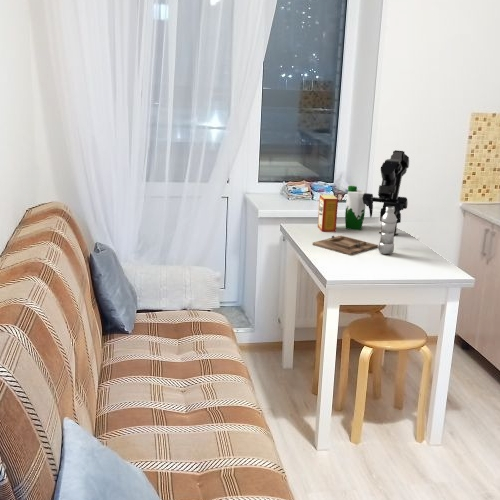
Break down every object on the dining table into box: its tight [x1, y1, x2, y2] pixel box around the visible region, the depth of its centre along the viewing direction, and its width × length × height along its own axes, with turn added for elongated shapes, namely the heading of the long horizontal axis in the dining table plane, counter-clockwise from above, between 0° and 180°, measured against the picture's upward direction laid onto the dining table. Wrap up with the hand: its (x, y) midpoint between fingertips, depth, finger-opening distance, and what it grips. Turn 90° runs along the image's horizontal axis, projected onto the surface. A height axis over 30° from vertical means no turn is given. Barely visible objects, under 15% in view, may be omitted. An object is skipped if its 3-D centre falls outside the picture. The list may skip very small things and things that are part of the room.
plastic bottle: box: [377, 206, 397, 255], centre depth 273 cm, size 6×7×20 cm
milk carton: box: [344, 185, 366, 231], centre depth 315 cm, size 9×9×20 cm
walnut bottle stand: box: [312, 235, 379, 256], centre depth 285 cm, size 20×20×3 cm
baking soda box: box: [317, 194, 339, 233], centre depth 311 cm, size 10×6×16 cm
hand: (381, 218), depth 280 cm, fingers open, 9 cm apart
